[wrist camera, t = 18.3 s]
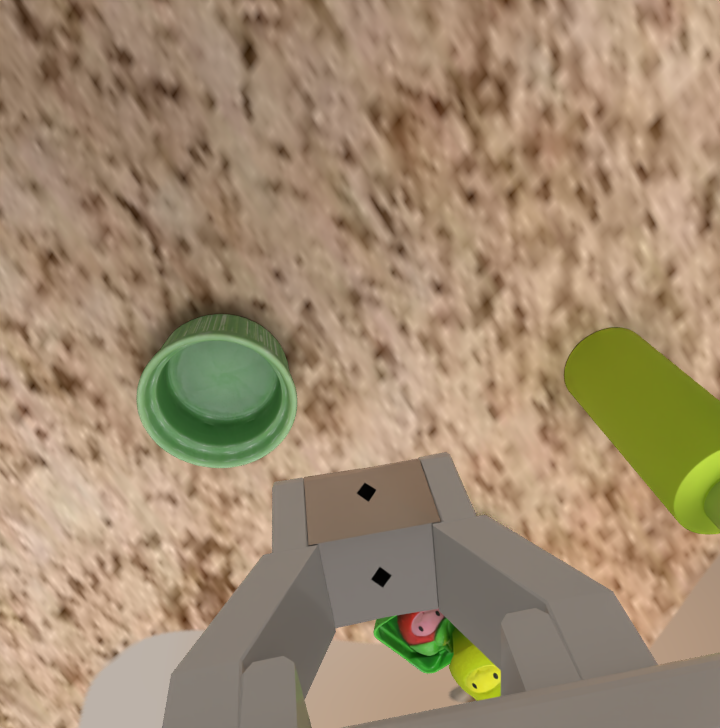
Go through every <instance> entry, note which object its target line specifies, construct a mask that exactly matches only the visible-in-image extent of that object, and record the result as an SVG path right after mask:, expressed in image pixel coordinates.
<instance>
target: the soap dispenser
mask: <svg viewBox="0 0 720 728" xmlns="http://www.w3.org/2000/svg"><path fill="white" fill-rule="evenodd" d="M564 379H565V384H566V387H567V389H568V390H569V392H570V393H571V394H572V395H573V397H574V398H575V399H576V400H577V401H578V403H579V404H580V405H581V406H582V407H583V409H584V410H585V411H586V412H587V413H588V415H589V416H590V417H591V418H592V419H593V421H594V422H595V423H596V424H597V425H598V426H599V428H600V429H601V430H602V431H603V432H604V434H605V435H606V436H607V437H608V438H609V440H610V441H611V442H612V443H613V444H614V446H615V447H616V448H617V449H618V450H619V452H620V453H621V454H622V455H623V456H624V458H625V459H626V460H627V461H628V462H629V464H630V465H631V466H632V467H633V468H634V470H635V471H636V472H637V473H638V474H639V476H640V477H641V478H642V479H643V480H644V482H645V483H646V484H647V485H648V486H649V488H650V489H651V490H652V491H653V492H654V493H655V495H656V496H657V497H658V498H659V499H660V501H661V502H662V503H663V504H664V505H665V507H666V508H667V509H668V510H669V511H670V513H671V514H672V515H673V516H674V517H675V519H676V520H677V521H678V522H679V523H680V524H681V525H682V526H683V527H684V528H686V529H687V530H689V531H692V532H695V533H699V534H719V533H720V401H719V400H718V399H716V398H715V397H714V396H713V395H712V394H710V393H709V392H708V391H707V390H705V389H704V388H703V387H702V386H700V385H699V384H698V383H697V382H695V381H694V380H693V379H692V378H691V377H689V376H688V375H687V374H686V373H684V372H683V371H682V370H681V369H679V368H678V367H677V366H676V365H674V364H673V363H672V362H671V361H670V360H668V359H667V358H666V357H665V356H663V355H662V354H661V353H660V352H658V351H657V350H656V349H655V348H653V347H652V346H651V345H650V344H649V343H647V342H646V341H645V340H644V339H642V338H641V337H640V336H639V335H637V334H636V333H635V332H633V331H631V330H628V329H624V328H608V329H603V330H600V331H598V332H595V333H593V334H591V335H590V336H588V337H587V338H585V339H584V340H583V341H581V342H580V343H579V344H578V345H577V346H576V347H575V349H574V350H573V351H572V353H571V354H570V356H569V358H568V360H567V363H566V366H565V371H564Z"/></svg>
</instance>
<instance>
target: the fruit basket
mask: <svg viewBox="0 0 720 728" xmlns="http://www.w3.org/2000/svg"><path fill="white" fill-rule="evenodd" d="M374 636H375V637H376V639H378V640H379V641H380V642H382V643H383V644H385V645H386V646H388V647H389V648H391V649H392V650H393V651H394V652H396V653H398V654H399V655H400V656H402V657H403V658H404V659H406V660H407V661H408V662H409V663H411V664H412V665H413V666H415V667H416V668H417V669H419V670H420V671H422V672H424V673H434V672H437V671H439V670H440V669H442V668H444V667H445V666H447V665H449V664H450V665H449V669H450V671H451V674H452V676H453V677H454V679H455V680H456V682H457V683H458V685H459V686H460V687H461V688H462V689H463V690H464V691H465V692H467V693H468V694H469V695H471V696H472V697H473V698H475V699H476V700H477V701H479V700H484V699H489V698H494V697H499V696H501V670H500V669H499V668H498V667H496V666H495V665H494V664H493V663H492V662H491V661H490V660H489V659H488V658H487V657H486V656H485V655H484V654H483V653H482V652H481V651H480V650H479V649H478V648H477V647H476V646H475V645H474V644H473V643H472V642H471V641H470V640H469V639H468V638H467V637H465V636H464V635H463V634H462V633H461V632H460V631H459V630H458V629H457V628H456V627H455V626H454V625H453V624H452V623H451V622H450V621H449V620H448V619H447V618H446V617H445V616H444V615H443V614H442V613H441V612H440V611H439V609H433V610H427V611H421V612H415V613H409V614H402V615H396V616H390V617H384V618H380V619H377V620H376V623H375V628H374Z"/></svg>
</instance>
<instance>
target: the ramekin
mask: <svg viewBox="0 0 720 728" xmlns="http://www.w3.org/2000/svg"><path fill="white" fill-rule="evenodd" d="M137 408H138V413H139V416H140V419H141V422H142V424H143V426H144V428H145V429H146V431H147V433H148V434H149V435H150V437H151V438H152V439H153V440H154V441H155V442H156V443H157V444H158V445H159V446H160V447H161V448H162V449H164V450H165V451H166V452H168V453H169V454H171V455H173V456H174V457H176V458H178V459H181V460H183V461H185V462H188V463H191V464H194V465H198V466H203V467H211V468H229V467H236V466H242V465H245V464H248V463H251V462H254V461H256V460H258V459H260V458H262V457H264V456H265V455H267V454H268V453H270V452H271V451H273V450H274V449H275V448H276V447H277V446H278V445H279V444H280V443H281V442H282V441H283V440H284V438H285V437H286V436H287V434H288V433H289V431H290V429H291V427H292V425H293V423H294V420H295V416H296V411H297V393H296V388H295V385H294V382H293V379H292V377H291V374H290V372H289V367H288V362H287V359H286V356H285V353H284V351H283V349H282V348H281V346H280V344H279V343H278V341H277V340H276V339H275V338H274V337H273V336H272V335H271V333H270V332H268V331H267V330H266V329H265V328H263V327H262V326H261V325H259V324H257V323H255V322H253V321H251V320H248V319H246V318H243V317H240V316H235V315H229V314H214V315H206V316H202V317H199V318H196V319H193V320H191V321H189V322H187V323H185V324H183V325H182V326H180V327H179V328H177V329H176V330H175V331H174V332H173V333H172V334H171V335H170V336H169V338H168V339H167V341H166V342H165V343H164V345H163V346H162V348H161V349H160V351H158V352H157V353H156V354H155V356H154V357H153V358H152V359H151V360H150V361H149V363H148V364H147V366H146V367H145V369H144V371H143V373H142V375H141V377H140V380H139V384H138V389H137Z"/></svg>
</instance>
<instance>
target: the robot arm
mask: <svg viewBox="0 0 720 728" xmlns="http://www.w3.org/2000/svg"><path fill="white" fill-rule="evenodd" d="M433 609H439V611H440V612H441V613H442V614H443V615H444V616H445V617H446V618H447V619H448V620H449V621H450V622H451V623H452V624H453V625H454V626H455V627H456V628H457V629H458V630H459V631H460V632H461V633H462V634H463V635H464V636H465V637H467V638H468V639H469V640H470V641H471V642H472V643H473V644H474V645H475V646H476V647H477V648H478V649H479V650H480V651H481V652H482V653H483V654H484V655H485V656H486V657H487V658H488V659H489V660H490V661H491V662H492V663H493V664H494V665H495V666H496V667H498V668H499V669H500V670H501V696H499V697H494V698H489V699H484V700H479V701H474V702H469V703H464V704H459V705H454V706H449V707H444V708H439V709H434V710H429V711H424V712H419V713H414V714H409V715H404V716H399V717H394V718H389V719H383V720H378V721H373V722H368V723H363V724H358V725H353V726H348V727H343V728H720V653H716V654H711V655H706V656H700V657H695V658H690V659H686V660H681V661H675V662H670V663H665V664H660V665H658V664H657V662H656V661H655V659H654V657H653V656H652V654H651V652H650V651H649V649H648V648H647V646H646V644H645V643H644V641H643V640H642V638H641V636H640V635H639V633H638V631H637V630H636V628H635V627H634V625H633V623H632V622H631V620H630V619H629V617H628V615H627V614H626V612H625V610H624V609H623V607H622V606H621V604H620V602H619V601H618V599H617V598H616V596H615V594H614V593H613V591H611V590H609V589H608V588H606V587H604V586H603V585H601V584H600V583H598V582H596V581H595V580H593V579H591V578H590V577H588V576H586V575H585V574H583V573H581V572H580V571H578V570H576V569H575V568H573V567H571V566H570V565H568V564H566V563H565V562H563V561H561V560H560V559H558V558H556V557H555V556H553V555H551V554H550V553H548V552H546V551H545V550H543V549H541V548H540V547H538V546H536V545H535V544H533V543H532V542H530V541H528V540H527V539H525V538H523V537H522V536H520V535H518V534H517V533H515V532H513V531H512V530H510V529H508V528H507V527H505V526H503V525H502V524H500V523H498V522H497V521H495V520H493V519H492V518H490V517H488V516H487V515H481V516H476V513H475V511H474V509H473V506H472V504H471V502H470V500H469V497H468V495H467V493H466V490H465V488H464V486H463V484H462V481H461V479H460V477H459V474H458V472H457V470H456V467H455V465H454V463H453V461H452V458H451V456H450V454H448V453H447V452H444V453H439V454H434V455H429V456H424V457H419V458H418V459H412V460H407V461H401V462H396V463H390V464H385V465H379V466H374V467H368V468H361V469H354V470H348V471H341V472H334V473H328V474H321V475H315V476H308V477H304V478H297V479H291V480H285V481H279V482H274V485H273V488H272V553H270V554H265V555H263V556H262V557H261V558H260V560H259V561H258V562H257V563H256V565H255V566H254V567H253V569H252V570H251V571H250V573H249V574H248V575H247V576H246V578H245V579H244V580H243V582H242V583H241V584H240V586H239V587H238V588H237V590H236V591H235V592H234V593H233V595H232V596H231V597H230V599H229V600H228V601H227V603H226V604H225V605H224V606H223V608H222V609H221V610H220V612H219V613H218V614H217V616H216V617H215V618H214V619H213V621H212V622H211V623H210V625H209V626H208V627H207V629H206V630H205V631H204V632H203V634H202V635H201V637H200V638H199V639H198V640H197V642H196V643H195V644H194V646H193V647H192V648H191V650H190V651H189V652H188V653H187V655H186V656H185V657H184V658H183V660H182V661H181V662H180V664H179V665H178V666H177V668H176V669H175V670H174V672H173V673H172V674H171V679H170V685H169V691H168V696H167V702H166V708H165V714H164V720H163V726H162V728H312V727H311V723H310V719H309V716H308V712H307V708H306V704H305V701H304V700H305V698H306V695H307V693H308V691H309V689H310V687H311V685H312V682H313V680H314V678H315V676H316V673H317V671H318V669H319V667H320V665H321V663H322V660H323V658H324V656H325V654H326V652H327V650H328V647H329V645H330V643H331V641H332V639H333V636H334V634H335V632H336V630H335V628H339V627H343V626H348V625H352V624H357V623H361V622H366V621H371V620H375V619H380V618H384V617H390V616H396V615H402V614H409V613H415V612H421V611H427V610H433Z"/></svg>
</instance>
